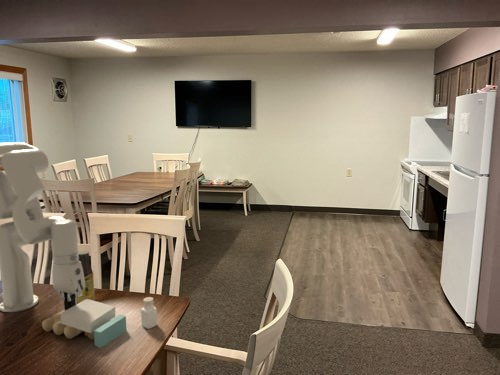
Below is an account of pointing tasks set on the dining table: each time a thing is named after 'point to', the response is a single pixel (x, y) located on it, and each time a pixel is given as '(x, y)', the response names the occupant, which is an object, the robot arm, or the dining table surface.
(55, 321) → the roller track
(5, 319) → the dining table surface
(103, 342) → the block
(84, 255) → the sauce bottle
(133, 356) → the dining table surface
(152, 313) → the pepper shaker
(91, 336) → the roller
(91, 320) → the slab
